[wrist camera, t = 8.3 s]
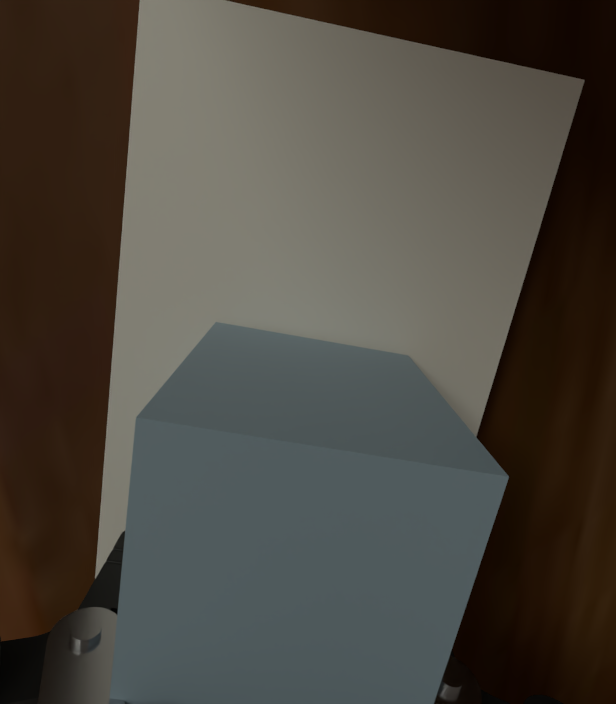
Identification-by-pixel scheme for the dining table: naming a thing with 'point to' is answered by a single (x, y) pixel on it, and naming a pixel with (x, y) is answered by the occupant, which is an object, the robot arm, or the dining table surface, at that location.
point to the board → (322, 201)
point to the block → (297, 528)
